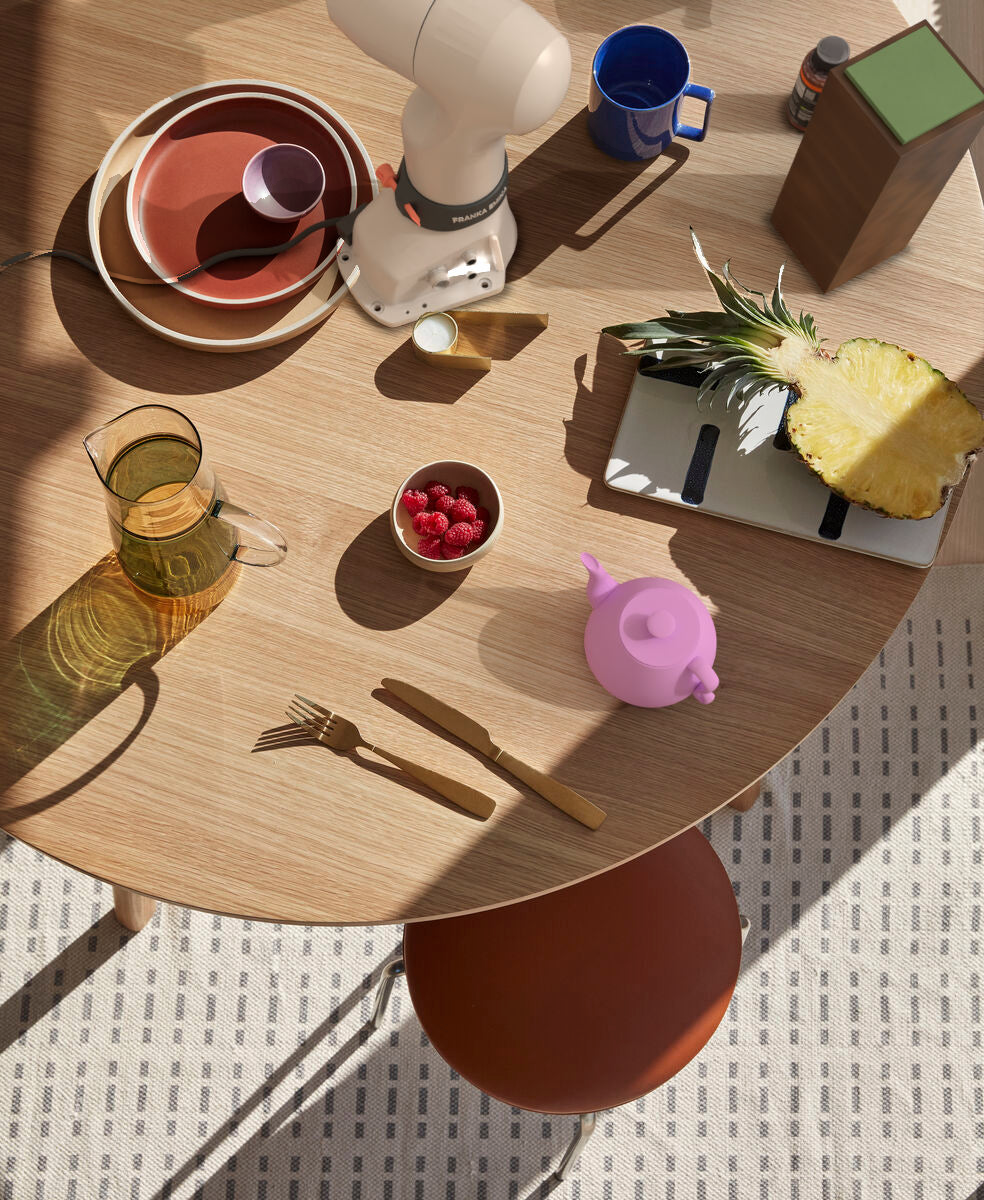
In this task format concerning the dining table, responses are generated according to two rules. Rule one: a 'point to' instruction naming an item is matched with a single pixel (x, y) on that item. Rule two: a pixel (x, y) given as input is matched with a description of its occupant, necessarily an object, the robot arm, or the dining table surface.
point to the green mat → (914, 85)
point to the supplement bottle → (815, 78)
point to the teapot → (648, 639)
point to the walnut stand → (864, 178)
